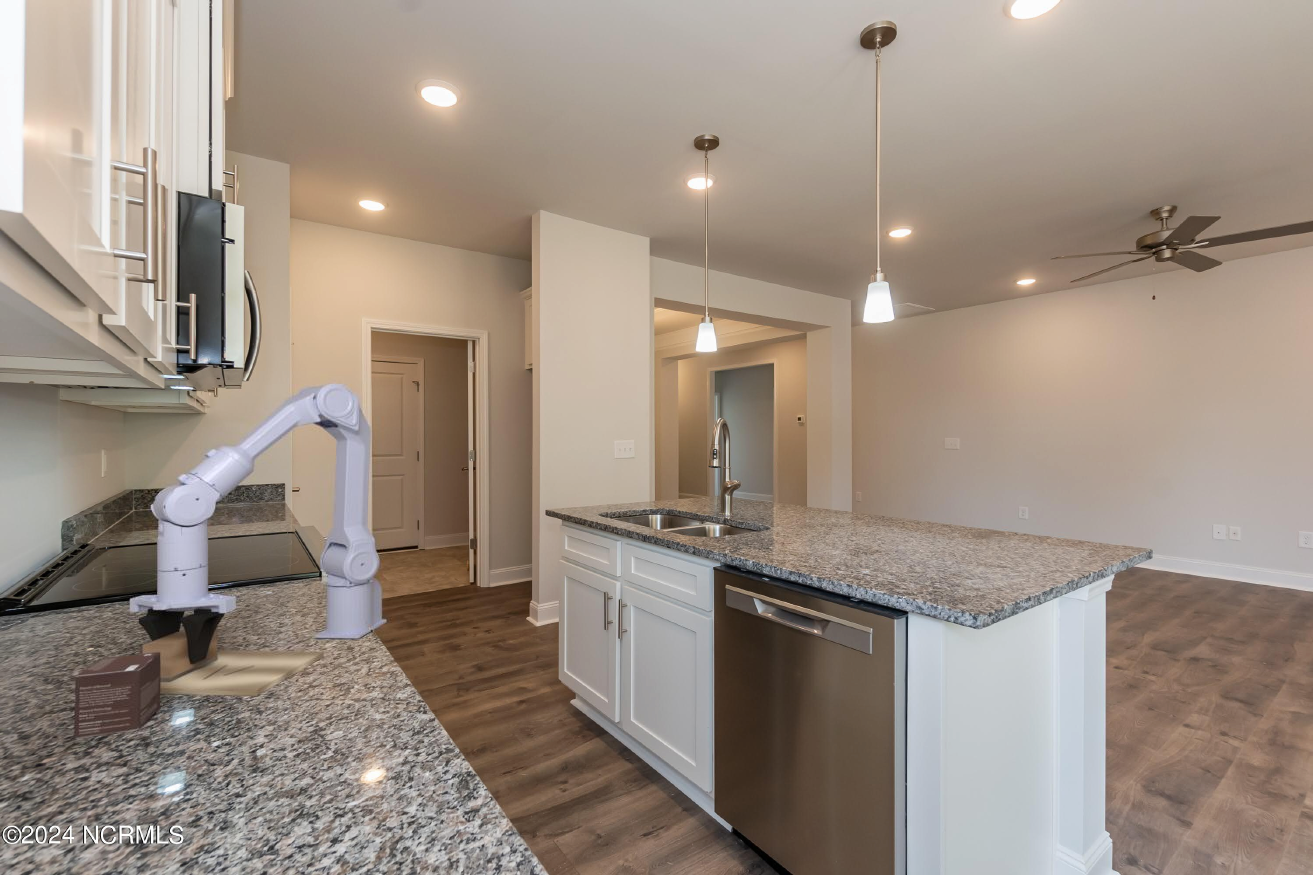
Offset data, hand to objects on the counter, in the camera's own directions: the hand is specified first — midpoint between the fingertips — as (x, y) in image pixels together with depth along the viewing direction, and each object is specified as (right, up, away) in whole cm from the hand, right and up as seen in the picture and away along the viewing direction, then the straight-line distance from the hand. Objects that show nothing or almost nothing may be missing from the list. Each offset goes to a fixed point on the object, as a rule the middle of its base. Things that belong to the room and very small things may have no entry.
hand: (183, 660), depth 84 cm
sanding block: (0, -1, 0) cm, 1 cm away
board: (+4, -2, +1) cm, 5 cm away
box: (+4, -2, -14) cm, 15 cm away
